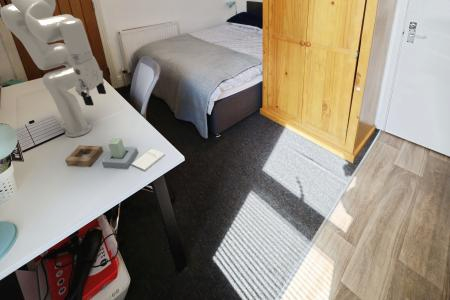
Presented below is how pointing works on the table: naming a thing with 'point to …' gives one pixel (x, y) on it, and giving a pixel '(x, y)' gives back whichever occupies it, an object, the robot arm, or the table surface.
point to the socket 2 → (120, 163)
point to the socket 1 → (88, 161)
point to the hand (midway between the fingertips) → (96, 99)
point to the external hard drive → (147, 159)
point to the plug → (117, 148)
